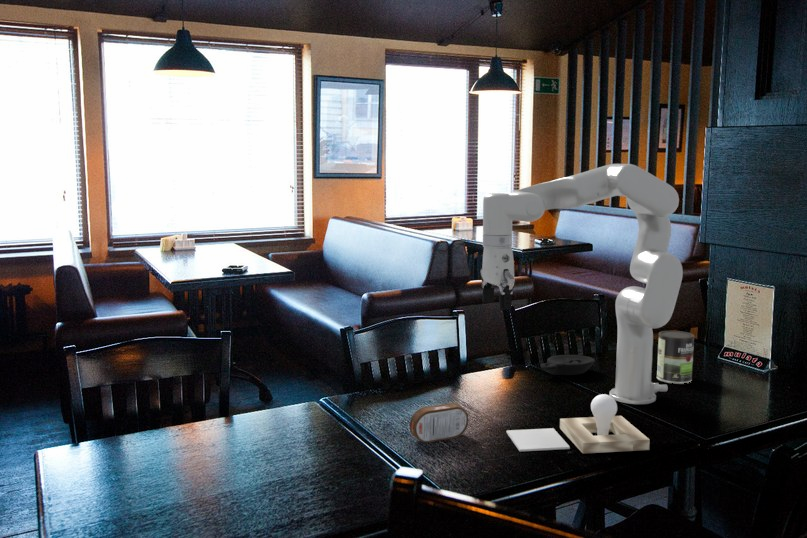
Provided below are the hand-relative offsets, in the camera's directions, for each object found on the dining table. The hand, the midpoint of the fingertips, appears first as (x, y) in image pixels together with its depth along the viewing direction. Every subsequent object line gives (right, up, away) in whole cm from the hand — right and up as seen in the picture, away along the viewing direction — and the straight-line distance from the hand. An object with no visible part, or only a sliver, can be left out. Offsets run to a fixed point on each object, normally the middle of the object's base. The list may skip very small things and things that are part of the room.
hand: (496, 305), depth 193 cm
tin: (-16, -32, -16) cm, 39 cm away
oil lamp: (+26, -24, +37) cm, 51 cm away
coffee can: (+58, -24, +31) cm, 70 cm away
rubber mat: (+8, -32, -17) cm, 37 cm away
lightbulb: (+24, -32, -16) cm, 42 cm away
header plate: (+24, -31, -16) cm, 42 cm away
